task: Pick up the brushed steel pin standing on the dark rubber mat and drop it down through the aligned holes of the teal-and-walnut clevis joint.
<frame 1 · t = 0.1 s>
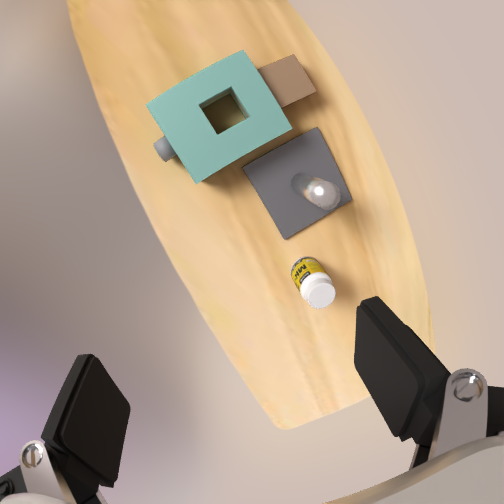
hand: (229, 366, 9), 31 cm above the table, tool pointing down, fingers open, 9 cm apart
rubber mat: (300, 183, 38), on the table
clevis joint: (223, 114, 33), on the table
steel pin: (301, 183, 37), point 1 cm above the table, touching rubber mat
supplement bottle: (304, 269, 43), on the table
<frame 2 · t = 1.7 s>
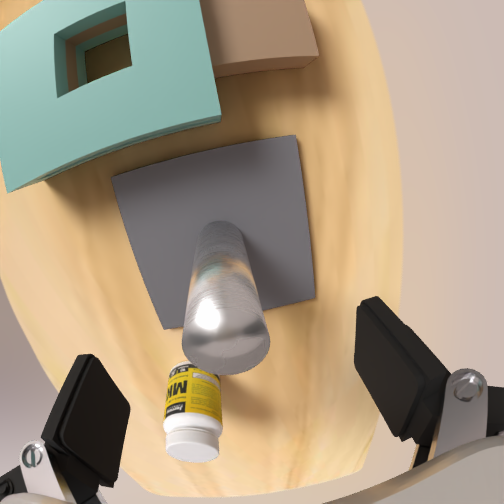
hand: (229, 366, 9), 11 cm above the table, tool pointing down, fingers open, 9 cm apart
rubber mat: (220, 239, 19), on the table
clevis joint: (115, 65, 13), on the table
steel pin: (220, 242, 18), point 1 cm above the table, touching rubber mat
supplement bottle: (194, 374, 24), on the table
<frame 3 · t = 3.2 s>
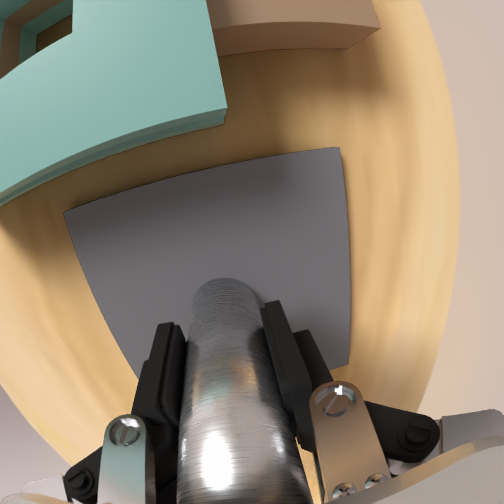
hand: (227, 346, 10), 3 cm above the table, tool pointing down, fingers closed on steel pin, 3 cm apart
rubber mat: (224, 300, 13), on the table
clevis joint: (72, 47, 8), on the table
steel pin: (224, 307, 12), point 1 cm above the table, touching gripper, rubber mat
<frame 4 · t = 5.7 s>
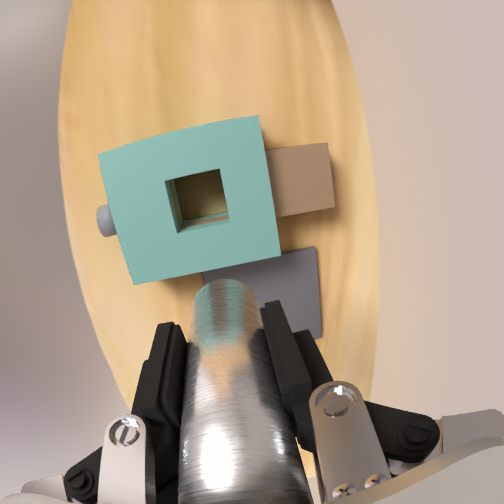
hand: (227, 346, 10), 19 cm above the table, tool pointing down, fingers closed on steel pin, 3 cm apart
rubber mat: (267, 306, 31), on the table
clevis joint: (200, 193, 26), on the table
steel pin: (225, 308, 12), point 16 cm above the table, touching gripper
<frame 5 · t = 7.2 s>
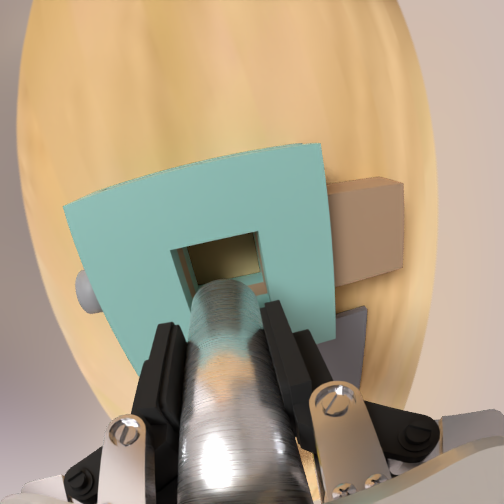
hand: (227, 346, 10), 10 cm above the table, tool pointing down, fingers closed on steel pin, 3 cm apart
rubber mat: (302, 372, 24), on the table
clevis joint: (221, 249, 19), on the table
steel pin: (225, 308, 12), point 7 cm above the table, touching gripper
when the fingers open (5 cm above the table, at t = 8.2 s): steel pin drops 3 cm, resting in clevis joint.
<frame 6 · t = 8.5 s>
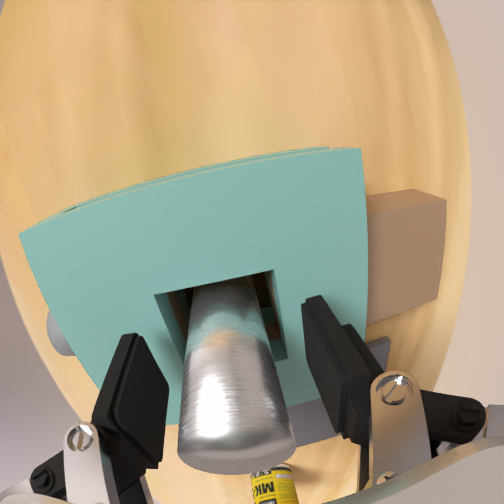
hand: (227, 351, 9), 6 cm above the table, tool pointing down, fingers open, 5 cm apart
rubber mat: (314, 407, 20), on the table
clevis joint: (223, 280, 15), on the table
steel pin: (223, 280, 15), resting in clevis joint
supplement bottle: (269, 468, 25), on the table
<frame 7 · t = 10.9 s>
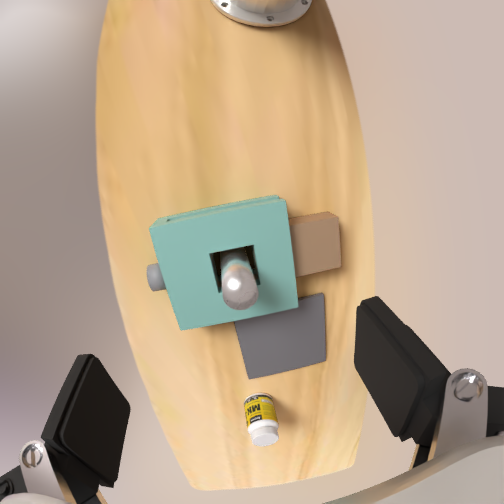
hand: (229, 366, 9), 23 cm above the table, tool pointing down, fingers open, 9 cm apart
rubber mat: (283, 338, 37), on the table
clevis joint: (232, 254, 32), on the table
steel pin: (233, 254, 32), resting in clevis joint
supplement bottle: (257, 399, 41), on the table
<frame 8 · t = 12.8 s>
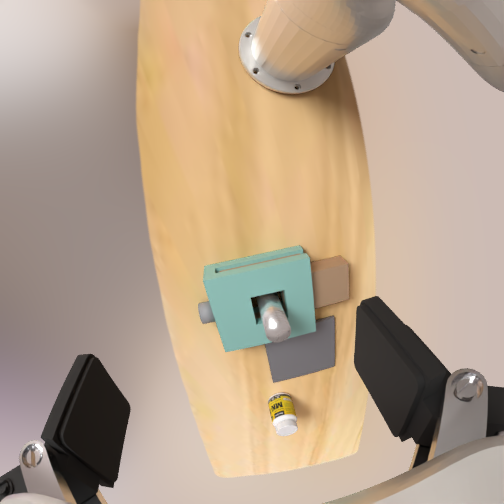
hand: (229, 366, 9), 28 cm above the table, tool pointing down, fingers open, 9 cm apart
rubber mat: (301, 350, 46), on the table
clevis joint: (264, 291, 40), on the table
steel pin: (265, 291, 40), resting in clevis joint
supplement bottle: (279, 398, 50), on the table
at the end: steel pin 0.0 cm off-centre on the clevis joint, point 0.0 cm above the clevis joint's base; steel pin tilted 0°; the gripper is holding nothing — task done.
